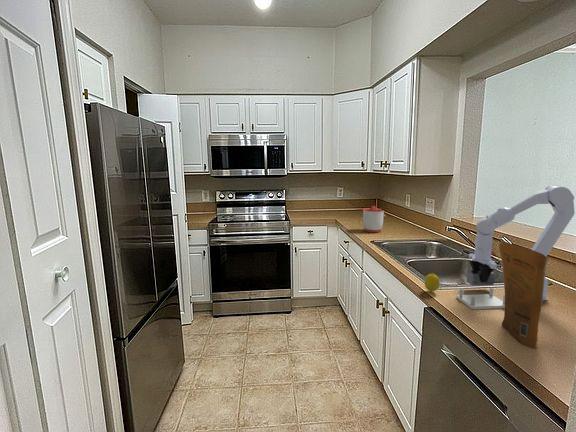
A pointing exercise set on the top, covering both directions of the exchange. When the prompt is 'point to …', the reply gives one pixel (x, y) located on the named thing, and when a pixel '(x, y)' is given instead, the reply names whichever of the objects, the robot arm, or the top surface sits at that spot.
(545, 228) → the robot arm
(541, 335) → the top surface
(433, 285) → the lemon
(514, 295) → the pancake mix bag
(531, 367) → the top surface
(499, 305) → the tray
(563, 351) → the top surface
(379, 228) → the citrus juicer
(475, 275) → the block
